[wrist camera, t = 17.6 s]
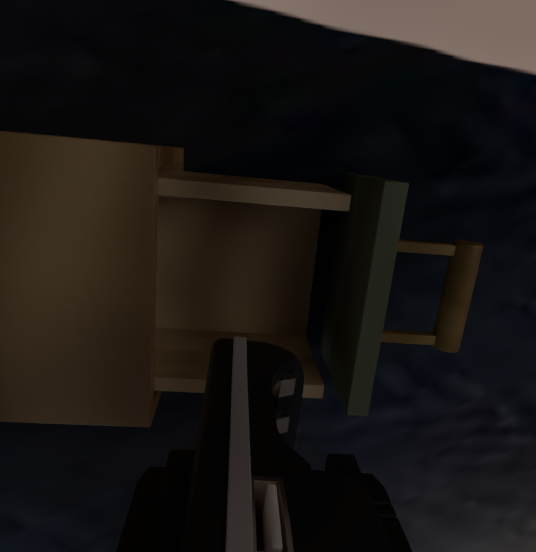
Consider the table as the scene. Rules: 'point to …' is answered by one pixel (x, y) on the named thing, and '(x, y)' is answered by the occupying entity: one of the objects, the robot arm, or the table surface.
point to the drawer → (289, 276)
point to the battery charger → (267, 466)
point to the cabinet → (79, 278)
